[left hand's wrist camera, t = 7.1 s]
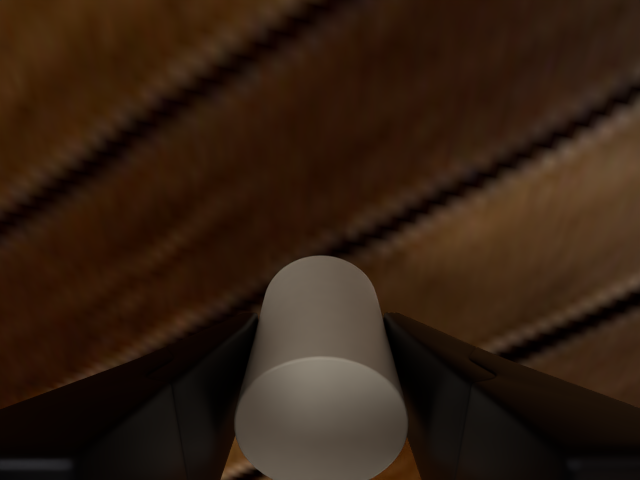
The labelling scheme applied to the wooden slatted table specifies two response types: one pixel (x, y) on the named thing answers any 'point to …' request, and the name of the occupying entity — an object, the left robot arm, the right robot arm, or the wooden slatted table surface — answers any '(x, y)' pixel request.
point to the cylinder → (321, 378)
